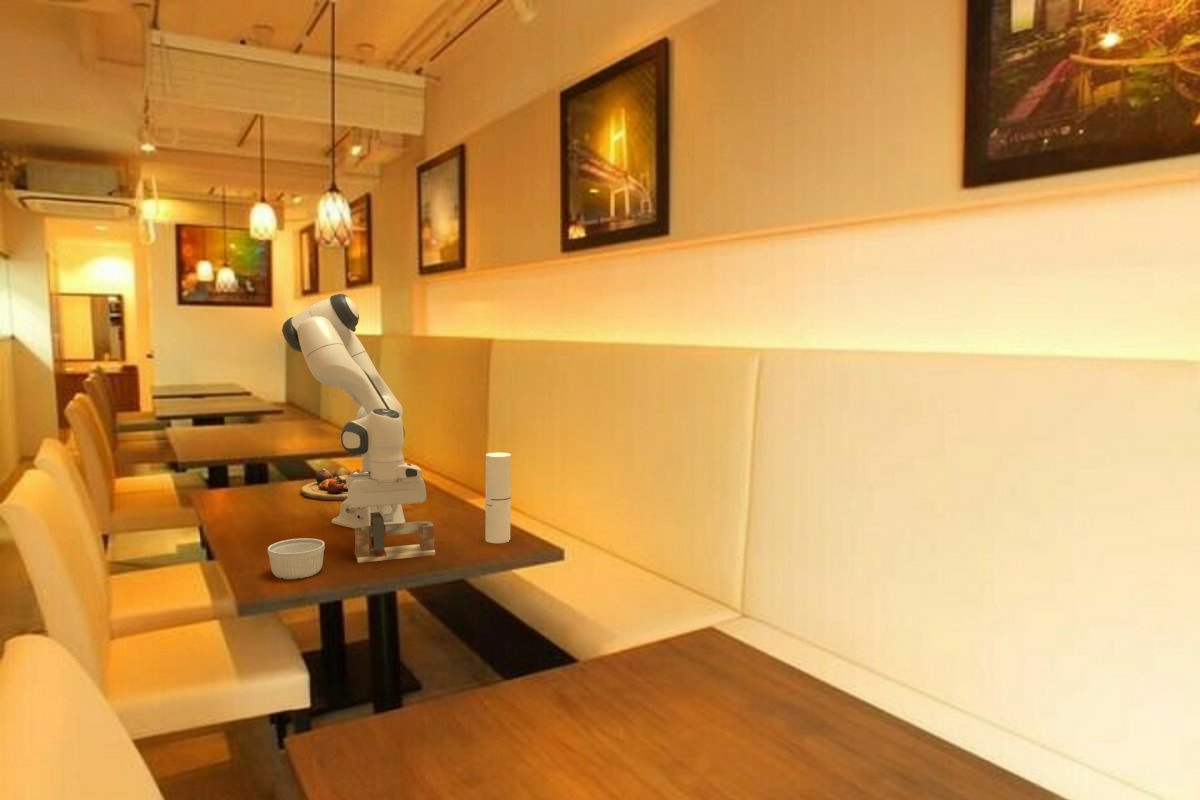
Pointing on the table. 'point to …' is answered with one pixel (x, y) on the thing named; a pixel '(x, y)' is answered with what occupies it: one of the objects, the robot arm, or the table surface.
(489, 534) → the cylindrical container
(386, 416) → the robot arm
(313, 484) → the wooden plate with food
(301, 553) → the ramekin
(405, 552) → the pipe rig
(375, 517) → the collar
